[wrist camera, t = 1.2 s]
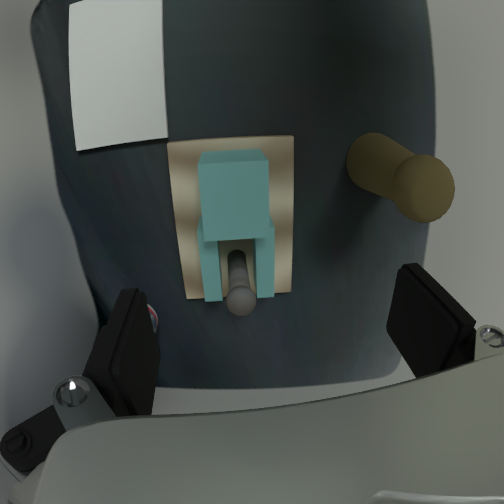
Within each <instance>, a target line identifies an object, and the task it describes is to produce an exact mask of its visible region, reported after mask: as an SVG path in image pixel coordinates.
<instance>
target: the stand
mask: <svg viewBox="0 0 504 504" xmlns="http://www.w3.org/2000/svg"><path fill="white" fill-rule="evenodd" d="M239 149H261V151H262V152H263V154H264V155H265V156H266V158H267V159H268V160H269V214H270V217H271V219H272V222H273V224H274V227H275V272H274V293H281V292H291V275H292V244H293V195H294V137H293V136H292V135H270V136H242V137H224V138H209V139H196V140H185V141H174V142H169V143H167V150H168V161H169V171H170V181H171V190H172V198H173V207H174V215H175V223H176V231H177V238H178V245H179V252H180V259H181V266H182V272H183V279H184V285H185V291H186V297H187V299H196V298H205V295H204V288H203V280H202V272H201V263H200V255H199V246H198V237H197V229H198V223H199V217H202V213H201V201H200V190H199V178H198V165H197V164H198V162H199V159H200V156H201V153H202V152H207V151H222V150H239ZM219 250H220V262H221V273H222V297H226V305H227V308H228V309H229V311H230V312H232V313H233V314H235V315H238V316H244V315H247V314H249V313H251V312H252V311H253V309H254V308H255V305H256V296H255V295H256V289H255V283H254V273H253V242H252V239H237V240H222V241H219Z"/></svg>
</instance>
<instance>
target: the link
mask: <svg viewBox="0 0 504 504" xmlns="http://www.w3.org/2000/svg"><path fill="white" fill-rule="evenodd" d="M197 165H198V178H199V190H200V201H201V213H202V217H199V223H198V229H197V237H198V246H199V255H200V263H201V272H202V280H203V288H204V295H205V302H209V301H223V298H222V273H221V262H220V250H219V241H222V240H237V239H252V242H253V273H254V283H255V289H256V294H257V298H266V297H274V272H275V227H274V224H273V222H272V219H271V217H270V214H269V160H268V159H267V158H266V156H265V155H264V154H263V152H262V151H261V149H239V150H222V151H207V152H202V153H201V156H200V159H199V162H198V164H197Z"/></svg>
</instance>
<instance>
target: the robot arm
mask: <svg viewBox="0 0 504 504" xmlns="http://www.w3.org/2000/svg"><path fill="white" fill-rule="evenodd" d="M475 323H476V321H475V320H474V318H473V317H472V316H471V315H470V314H469V313H468V312H467V311H466V310H465V309H464V308H463V307H462V306H461V305H460V304H459V303H458V302H457V301H456V300H455V299H454V298H453V297H452V296H451V295H450V294H449V293H448V292H447V291H446V290H445V289H444V288H443V287H442V286H441V285H440V284H439V283H438V282H437V281H436V280H435V279H434V278H433V277H432V276H431V275H430V274H428V273H427V272H426V271H425V270H424V269H423V268H422V267H421V266H420V265H419V264H418V263H411V264H404V265H402V267H401V268H400V269H399V270H398V273H397V278H396V283H395V288H394V293H393V298H392V303H391V307H390V312H389V316H388V321H387V326H386V328H387V332H388V334H389V336H390V337H391V339H392V341H393V342H394V344H395V345H396V347H397V348H398V350H399V351H400V353H401V355H402V356H403V358H404V359H405V361H406V362H407V364H408V365H409V367H410V369H411V370H412V372H413V374H414V375H415V377H416V378H415V379H412V380H408V381H404V382H400V383H397V384H393V385H389V386H385V387H380V388H376V389H372V390H367V391H363V392H358V393H353V394H349V395H343V396H338V397H333V398H328V399H322V400H316V401H310V402H304V403H298V404H291V405H283V406H275V407H267V408H259V409H249V410H238V411H226V412H211V413H194V414H170V415H151V413H152V406H153V400H154V393H155V387H156V380H157V374H158V368H159V362H160V350H159V346H158V343H157V339H156V335H155V332H154V328H153V324H152V320H151V317H150V313H149V309H148V305H147V301H146V297H145V294H144V292H140V291H139V289H138V288H131V289H122V290H121V292H120V295H119V297H118V299H117V301H116V304H115V306H114V308H113V311H112V313H111V315H110V318H109V320H108V322H107V325H106V326H103V327H102V328H101V330H100V332H99V334H98V337H97V339H96V342H95V344H94V346H93V349H92V352H91V354H90V356H89V359H88V361H87V364H86V366H85V369H84V372H83V374H82V376H79V375H77V376H70V377H67V378H65V379H63V380H62V381H60V382H59V383H58V384H57V385H56V386H55V387H54V389H53V391H52V395H51V399H52V403H53V405H51V406H50V407H48V408H46V409H45V410H43V411H41V412H40V413H38V414H36V415H35V416H33V417H31V418H29V419H27V420H26V421H24V422H22V423H21V424H19V425H17V426H15V427H14V428H12V429H11V430H9V431H8V432H7V433H6V434H5V435H4V436H3V437H2V440H1V442H0V452H1V453H0V504H504V331H503V330H501V329H500V328H498V327H495V326H491V325H483V326H481V327H479V328H478V329H477V331H476V330H475V328H474V326H475Z"/></svg>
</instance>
